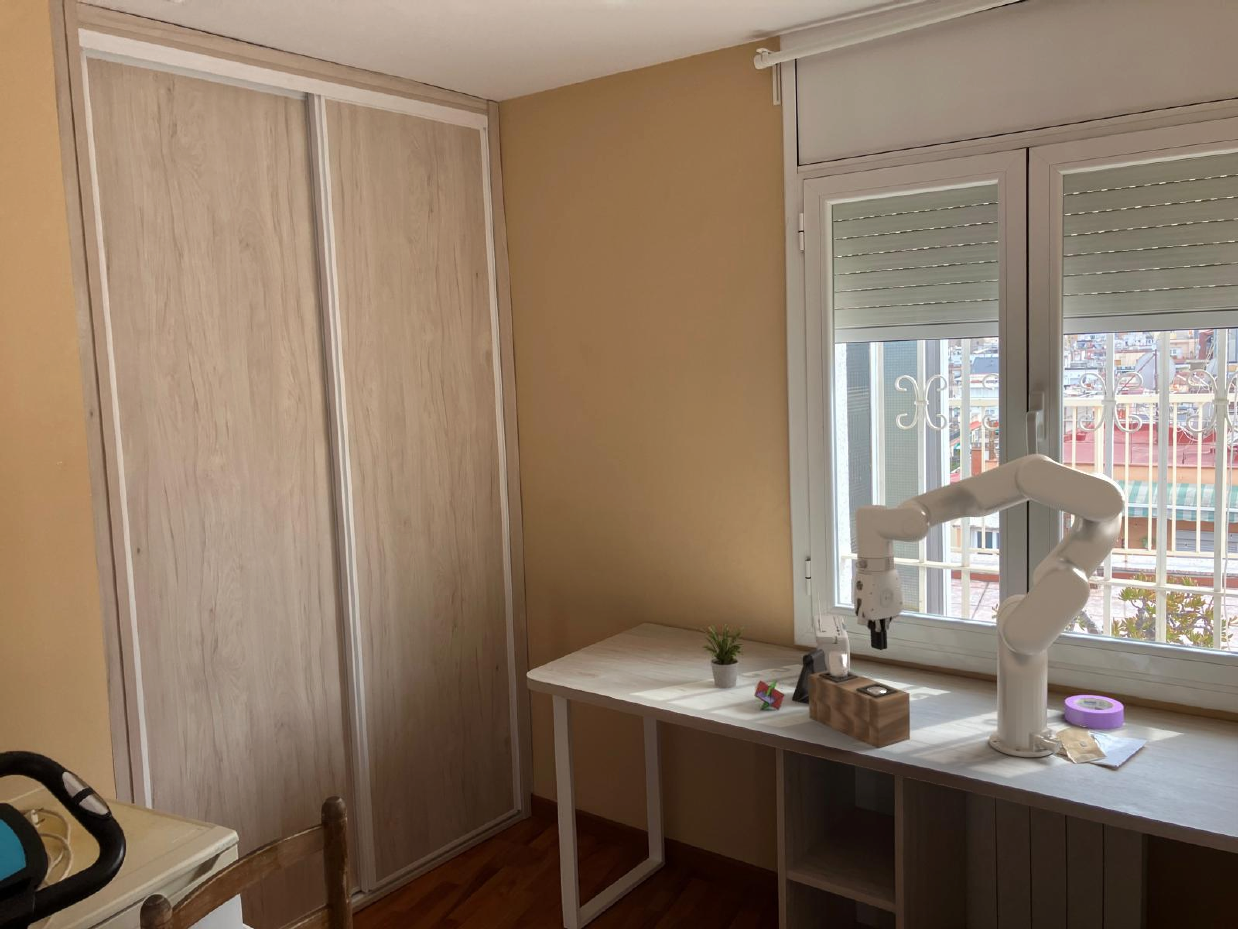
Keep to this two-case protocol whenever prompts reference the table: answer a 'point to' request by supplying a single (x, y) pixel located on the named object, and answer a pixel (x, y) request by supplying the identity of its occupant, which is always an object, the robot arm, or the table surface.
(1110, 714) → the masking tape
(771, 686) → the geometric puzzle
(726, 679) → the house plant
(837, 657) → the peg far
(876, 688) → the peg near
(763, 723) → the table surface
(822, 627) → the stereo radio cassette player
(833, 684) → the block
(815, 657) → the phone stand
